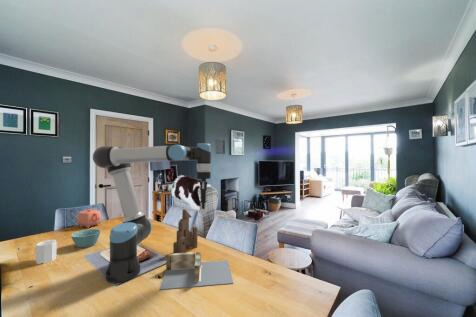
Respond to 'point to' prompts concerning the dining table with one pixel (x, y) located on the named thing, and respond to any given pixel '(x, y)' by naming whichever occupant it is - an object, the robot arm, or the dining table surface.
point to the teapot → (89, 218)
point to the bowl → (86, 237)
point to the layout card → (208, 276)
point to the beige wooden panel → (181, 260)
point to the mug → (45, 251)
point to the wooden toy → (185, 234)
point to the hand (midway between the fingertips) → (203, 214)
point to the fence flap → (197, 267)
